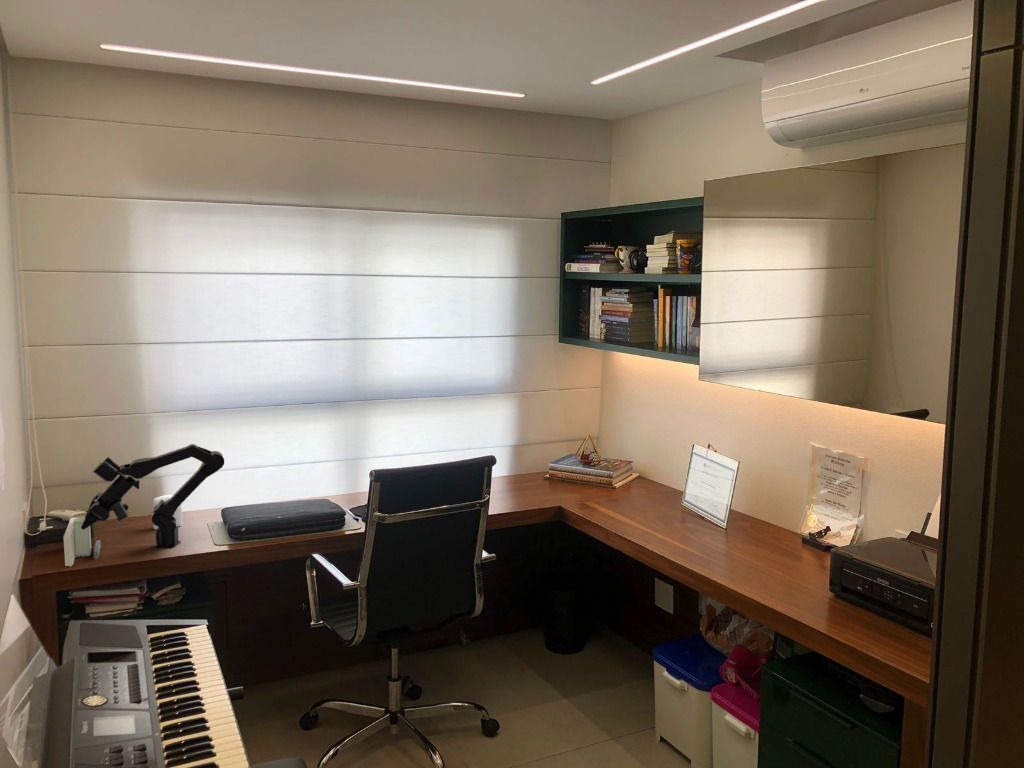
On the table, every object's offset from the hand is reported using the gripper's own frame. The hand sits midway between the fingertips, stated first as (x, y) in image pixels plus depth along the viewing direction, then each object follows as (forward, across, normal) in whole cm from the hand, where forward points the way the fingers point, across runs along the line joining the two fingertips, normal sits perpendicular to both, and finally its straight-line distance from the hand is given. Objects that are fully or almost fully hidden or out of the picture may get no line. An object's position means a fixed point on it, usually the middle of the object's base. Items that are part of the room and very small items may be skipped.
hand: (83, 525), depth 280 cm
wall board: (+7, 0, -7) cm, 10 cm away
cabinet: (+8, 0, -7) cm, 10 cm away
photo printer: (-11, +24, -26) cm, 37 cm away
